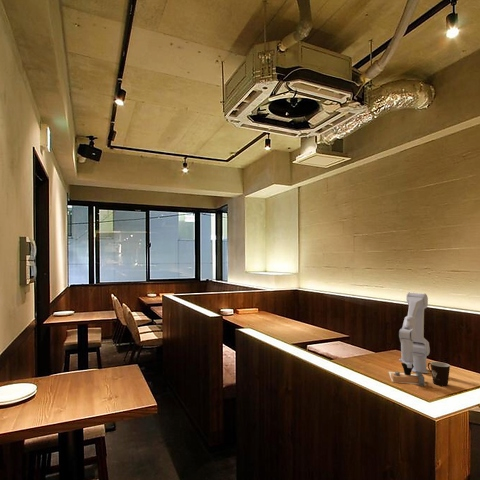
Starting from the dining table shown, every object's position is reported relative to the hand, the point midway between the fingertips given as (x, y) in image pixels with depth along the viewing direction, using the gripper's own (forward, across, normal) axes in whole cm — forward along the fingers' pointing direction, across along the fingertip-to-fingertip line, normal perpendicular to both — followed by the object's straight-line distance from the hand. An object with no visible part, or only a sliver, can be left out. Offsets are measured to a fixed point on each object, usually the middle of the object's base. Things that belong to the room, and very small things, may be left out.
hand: (407, 377), depth 179 cm
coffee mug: (+1, 0, +15) cm, 15 cm away
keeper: (+1, +3, +5) cm, 6 cm away
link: (+1, +2, 0) cm, 3 cm away
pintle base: (+1, -2, 0) cm, 2 cm away
